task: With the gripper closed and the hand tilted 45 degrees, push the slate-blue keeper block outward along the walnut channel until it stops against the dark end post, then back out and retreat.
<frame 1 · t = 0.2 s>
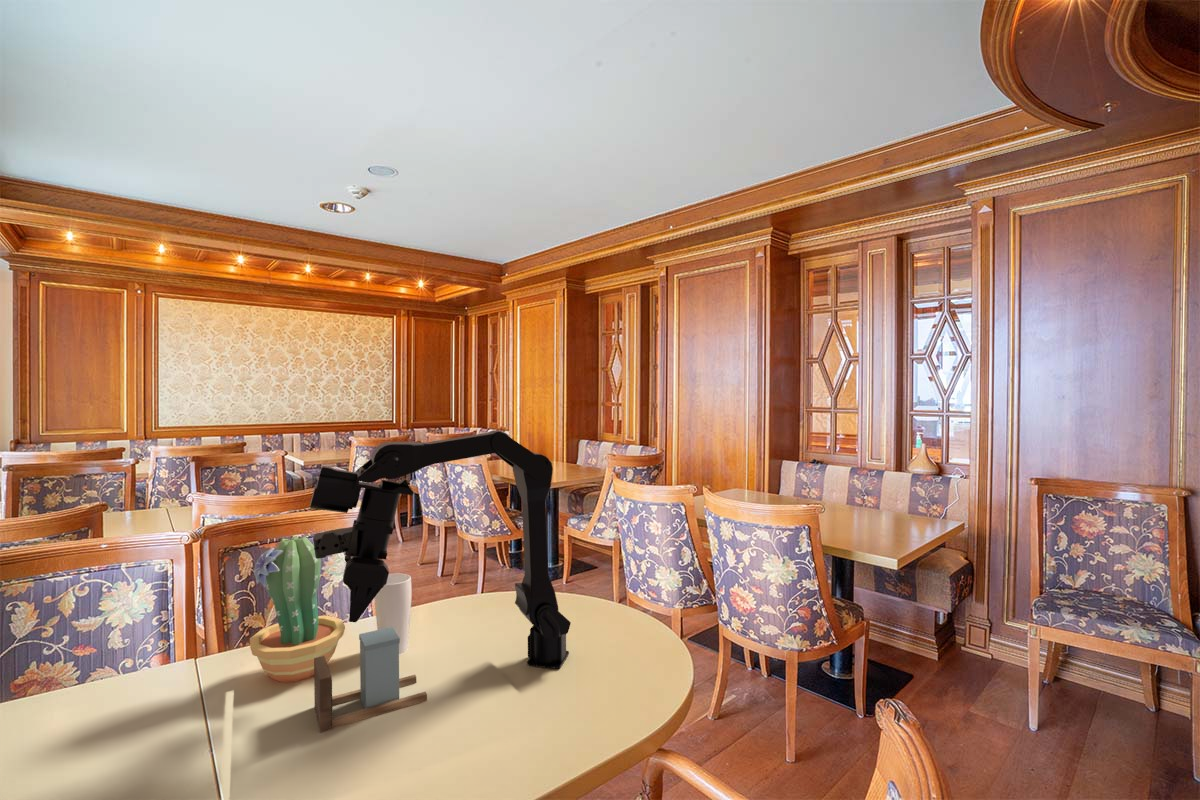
hand: (352, 611, 92), 15 cm above the table, tool pointing down, fingers open, 9 cm apart
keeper: (379, 668, 91), point 6 cm above the table, slide at 0.0 cm
track: (370, 711, 90), on the table
potted cactus: (299, 677, 101), on the table
drinking glass: (393, 656, 109), on the table
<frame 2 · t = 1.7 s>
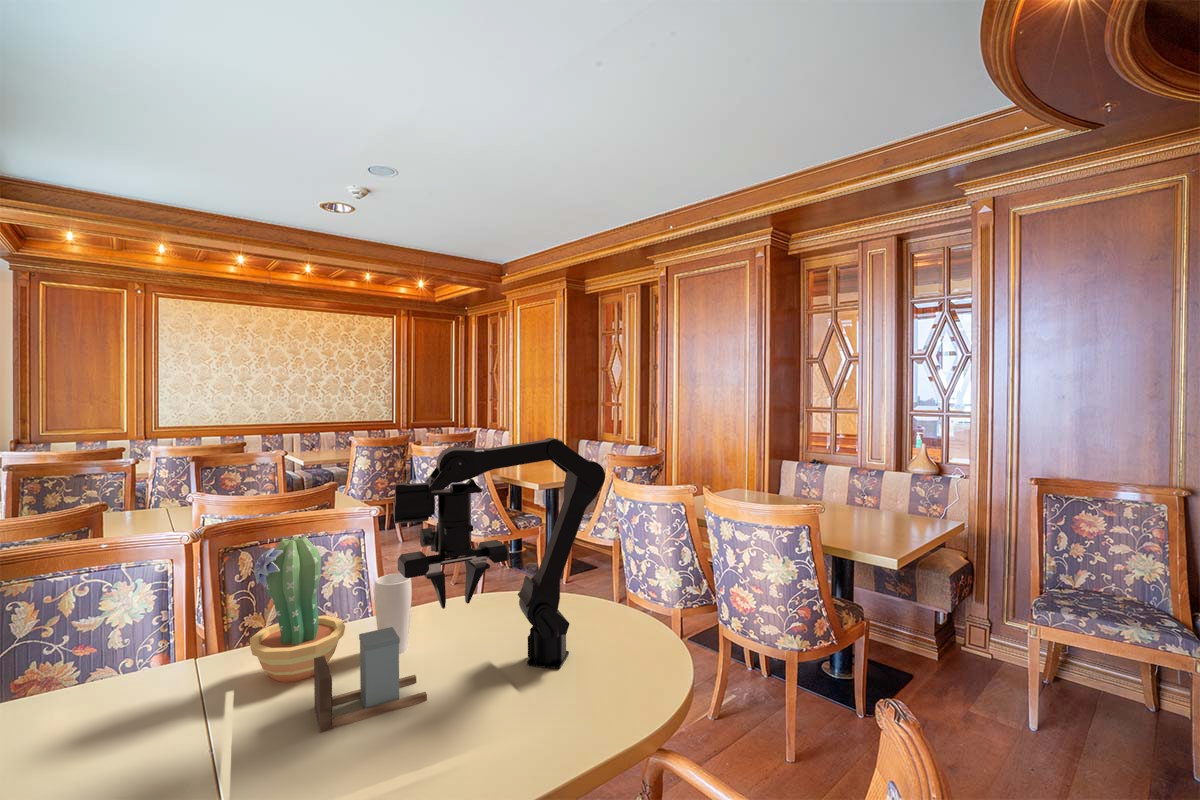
hand: (455, 605, 100), 13 cm above the table, tool pointing down, fingers open, 4 cm apart
nothing on the table moved.
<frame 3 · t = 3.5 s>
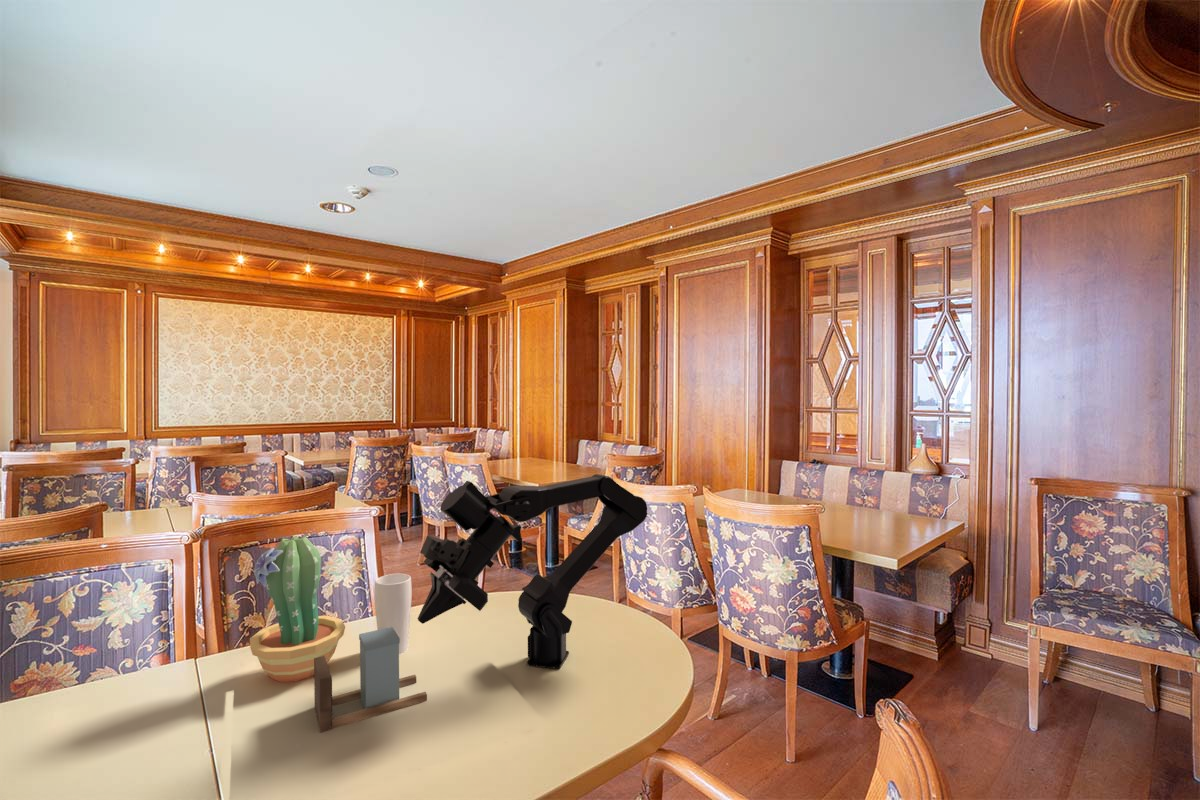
hand: (419, 621, 94), 13 cm above the table, tool tilted 45°, fingers closed
nothing on the table moved.
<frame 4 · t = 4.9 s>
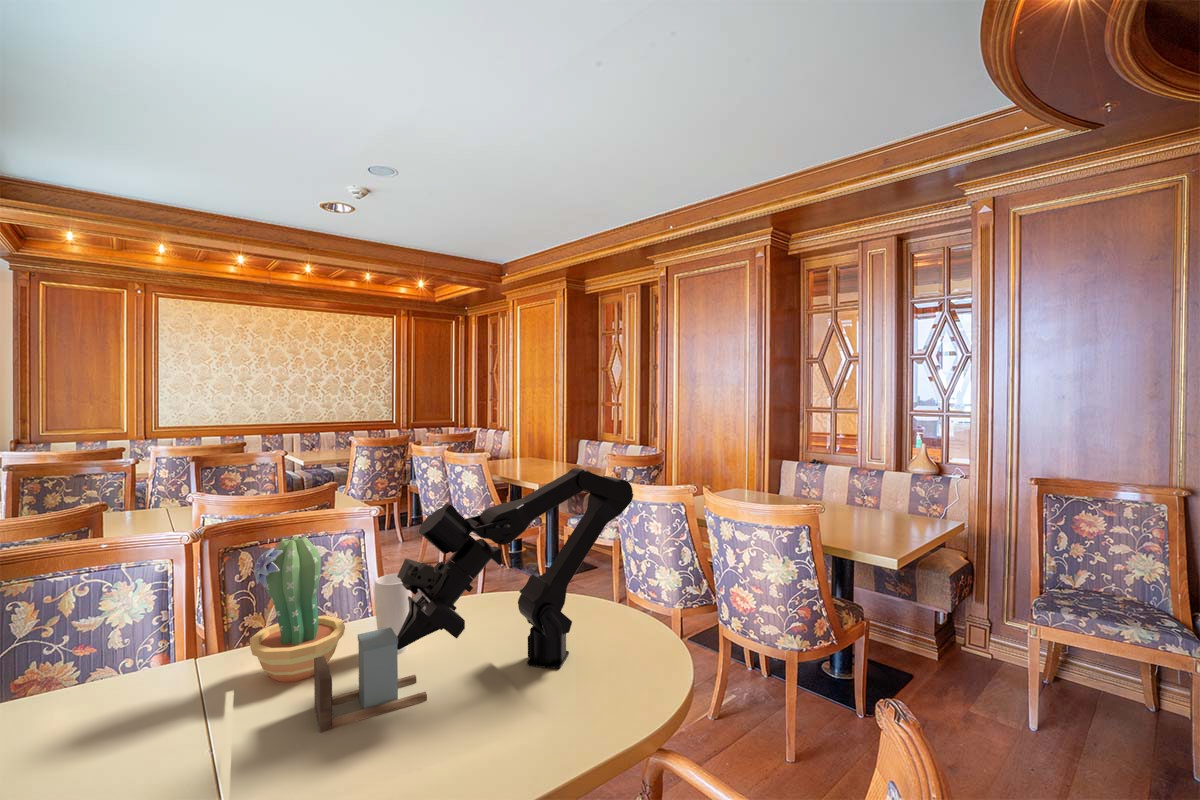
hand: (395, 647, 92), 9 cm above the table, tool tilted 45°, fingers closed, pressing on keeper
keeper: (377, 669, 90), point 6 cm above the table, slide at 0.2 cm, touching gripper
everything else where it was.
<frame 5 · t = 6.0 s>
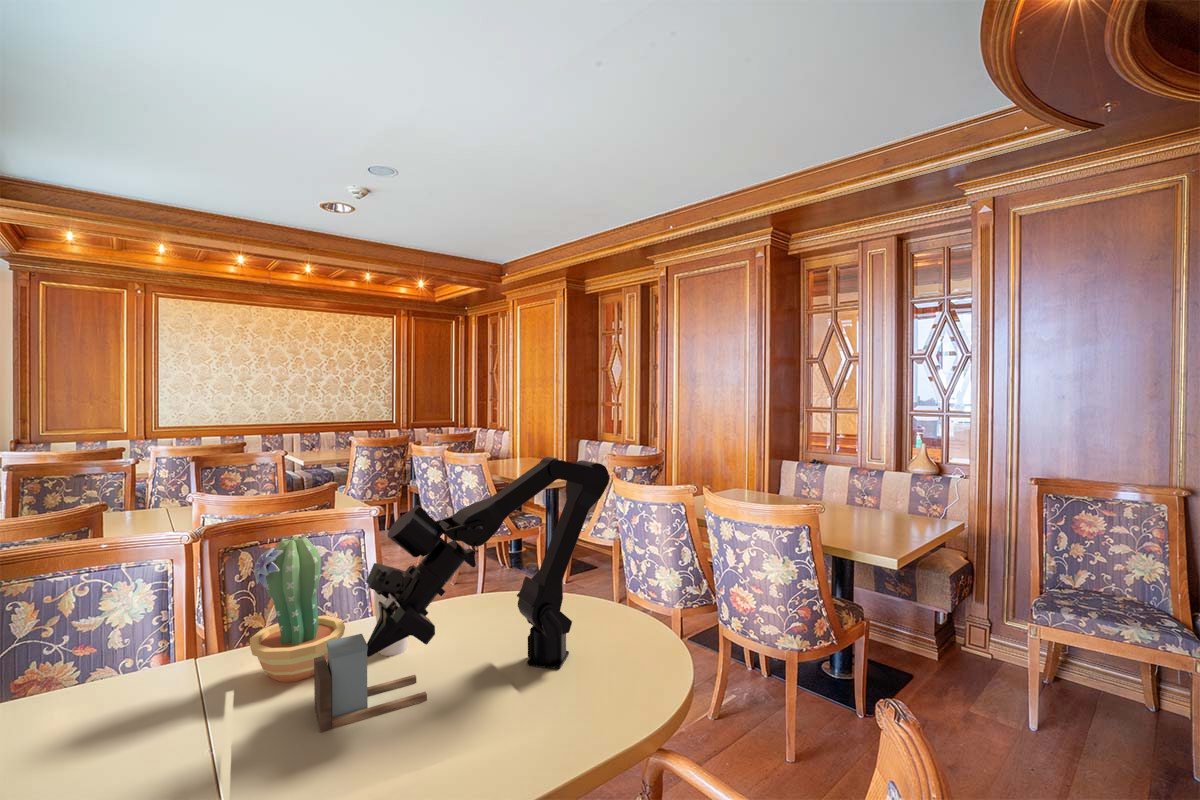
hand: (365, 654, 89), 9 cm above the table, tool tilted 45°, fingers closed, pressing on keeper
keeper: (347, 676, 88), point 6 cm above the table, slide at 4.8 cm, touching gripper, track
everything else where it was.
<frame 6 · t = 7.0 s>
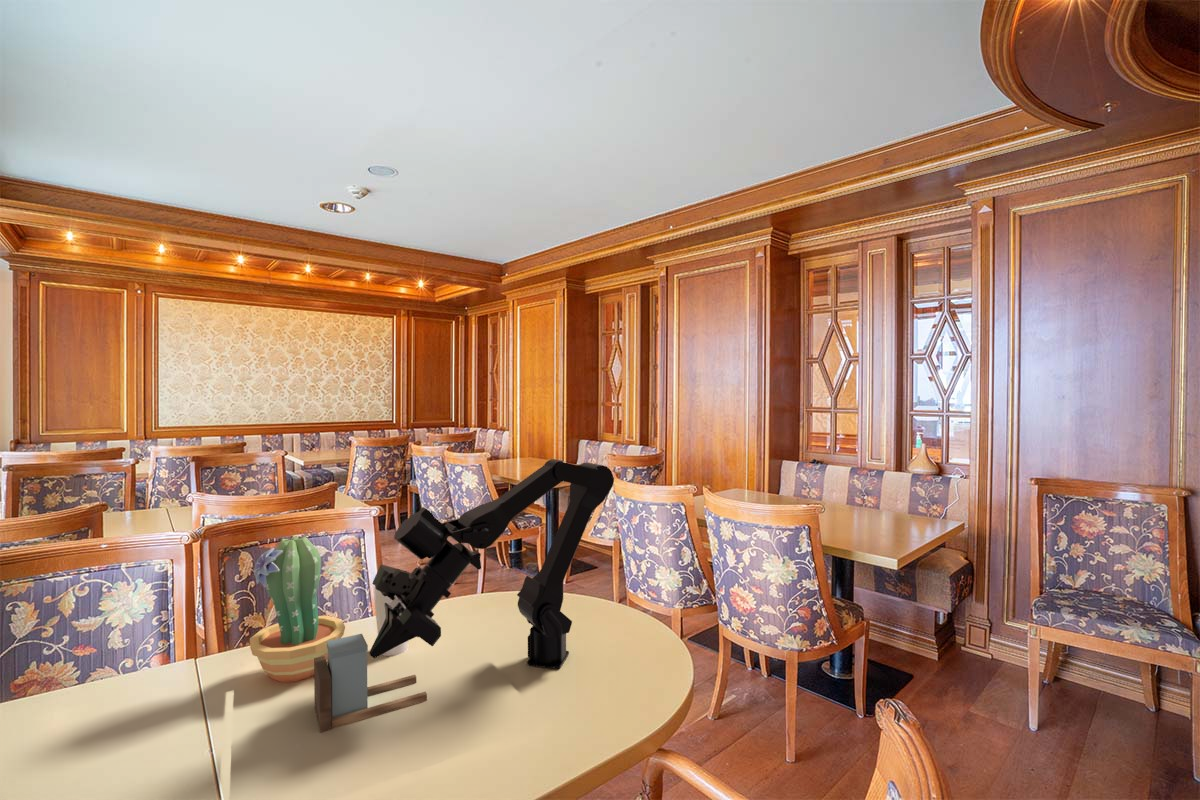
hand: (371, 655, 90), 9 cm above the table, tool tilted 45°, fingers closed
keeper: (347, 676, 88), point 6 cm above the table, slide at 4.8 cm
everything else where it was.
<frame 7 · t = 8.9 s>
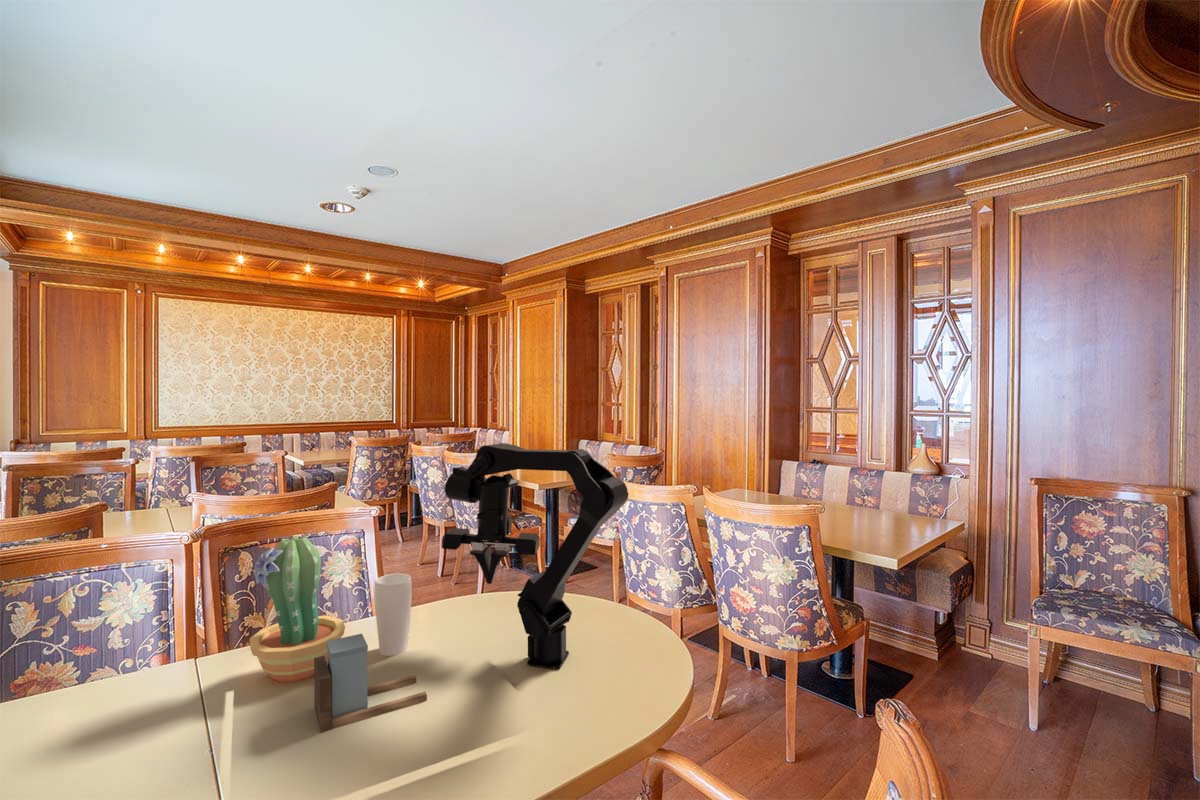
hand: (489, 583, 113), 13 cm above the table, tool pointing down, fingers closed
nothing on the table moved.
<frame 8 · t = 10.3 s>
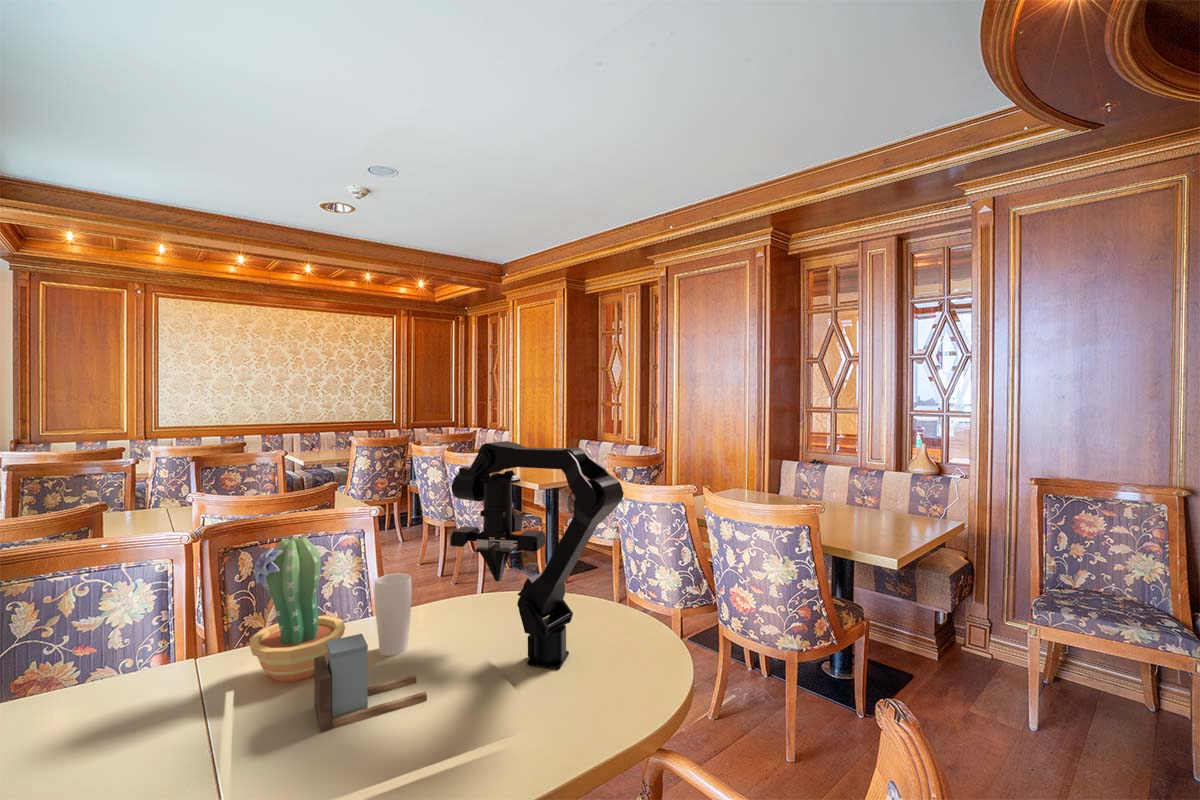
hand: (498, 580, 114), 13 cm above the table, tool pointing down, fingers closed
nothing on the table moved.
at the end: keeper slide at 4.8 cm; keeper 0.4 cm from the target spot, point 6.5 cm above the table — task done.
